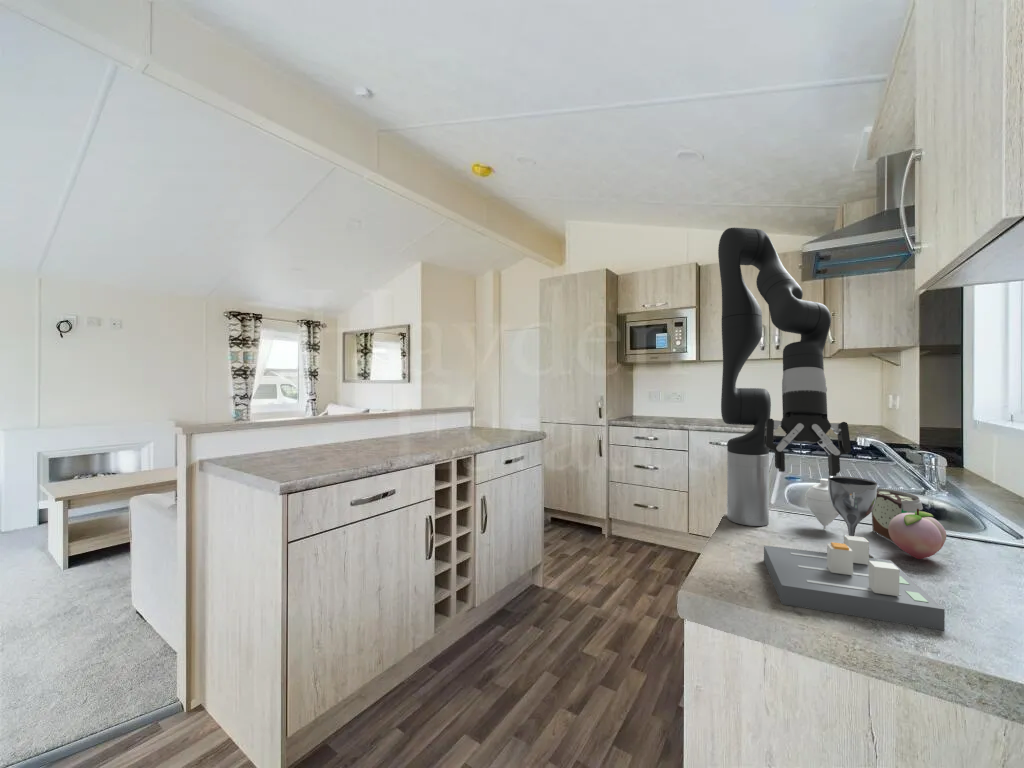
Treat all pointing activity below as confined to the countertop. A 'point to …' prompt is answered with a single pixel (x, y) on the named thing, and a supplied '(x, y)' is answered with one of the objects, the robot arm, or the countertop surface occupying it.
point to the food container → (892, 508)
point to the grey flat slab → (847, 589)
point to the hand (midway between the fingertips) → (806, 473)
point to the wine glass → (852, 499)
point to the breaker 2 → (884, 578)
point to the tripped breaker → (839, 558)
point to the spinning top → (821, 503)
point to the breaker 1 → (858, 548)
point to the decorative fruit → (917, 534)
